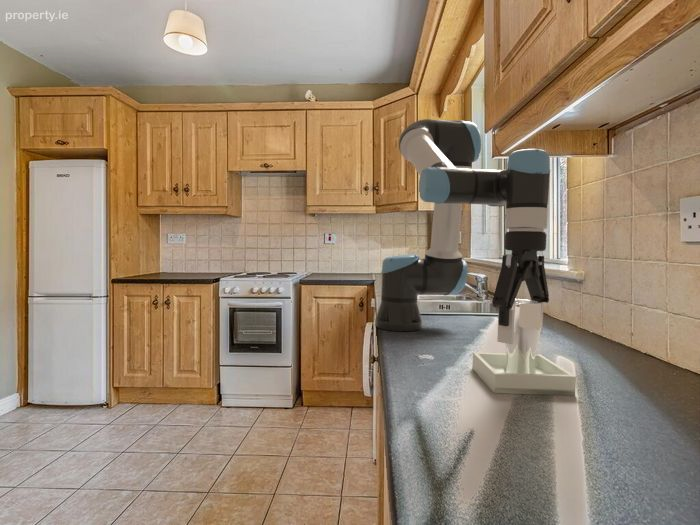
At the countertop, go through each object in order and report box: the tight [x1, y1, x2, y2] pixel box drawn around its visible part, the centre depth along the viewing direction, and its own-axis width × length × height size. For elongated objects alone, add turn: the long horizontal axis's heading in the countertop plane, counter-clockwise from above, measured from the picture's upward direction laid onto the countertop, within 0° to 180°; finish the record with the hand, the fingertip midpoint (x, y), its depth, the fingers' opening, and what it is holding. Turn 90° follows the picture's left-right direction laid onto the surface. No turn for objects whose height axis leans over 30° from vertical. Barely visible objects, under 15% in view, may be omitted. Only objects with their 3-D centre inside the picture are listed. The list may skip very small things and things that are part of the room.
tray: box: [472, 352, 577, 396], centre depth 81 cm, size 15×15×4 cm
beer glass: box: [503, 298, 541, 374], centre depth 81 cm, size 7×7×15 cm
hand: (520, 337), depth 81 cm, fingers open, 13 cm apart
